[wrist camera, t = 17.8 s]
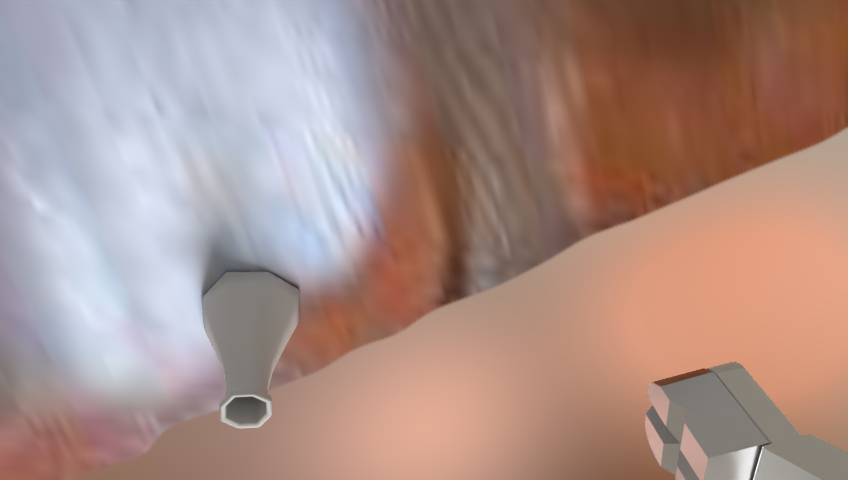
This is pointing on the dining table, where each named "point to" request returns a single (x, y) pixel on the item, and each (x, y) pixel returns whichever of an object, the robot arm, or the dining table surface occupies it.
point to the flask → (249, 339)
